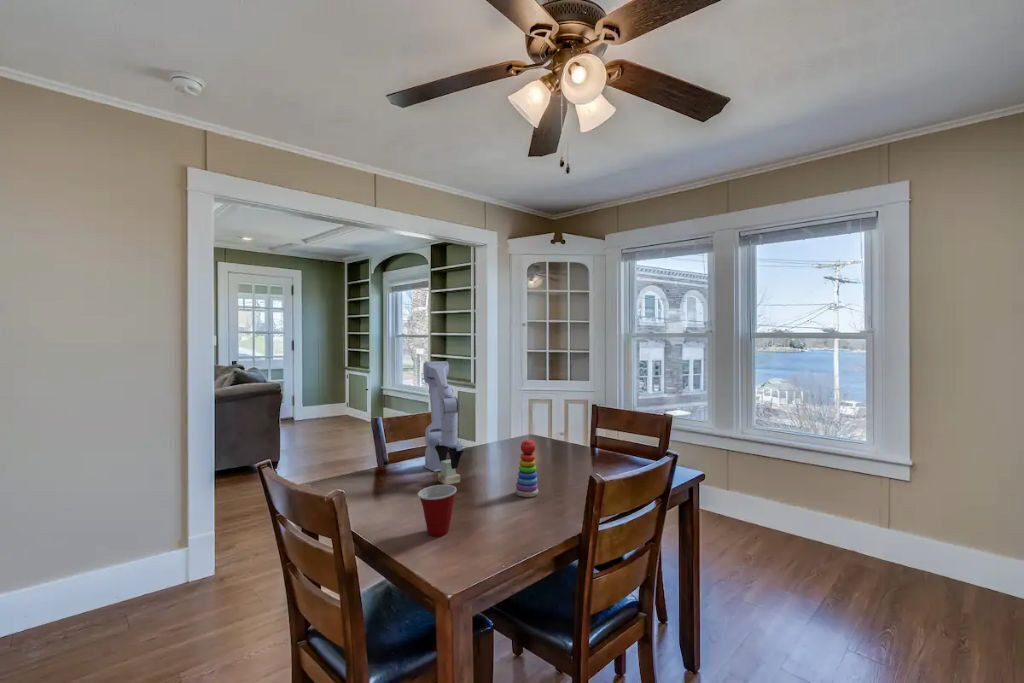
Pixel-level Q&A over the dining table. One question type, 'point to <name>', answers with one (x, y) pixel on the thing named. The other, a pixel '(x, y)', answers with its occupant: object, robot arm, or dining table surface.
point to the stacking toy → (527, 471)
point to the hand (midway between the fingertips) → (448, 466)
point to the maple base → (449, 479)
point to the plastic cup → (437, 508)
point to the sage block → (447, 468)
